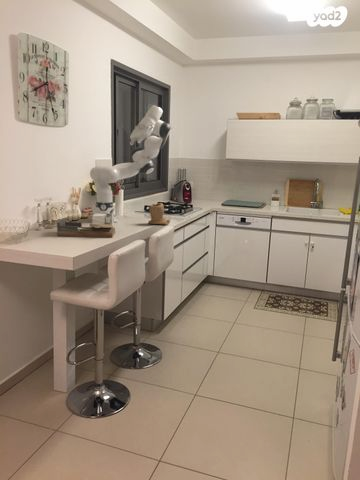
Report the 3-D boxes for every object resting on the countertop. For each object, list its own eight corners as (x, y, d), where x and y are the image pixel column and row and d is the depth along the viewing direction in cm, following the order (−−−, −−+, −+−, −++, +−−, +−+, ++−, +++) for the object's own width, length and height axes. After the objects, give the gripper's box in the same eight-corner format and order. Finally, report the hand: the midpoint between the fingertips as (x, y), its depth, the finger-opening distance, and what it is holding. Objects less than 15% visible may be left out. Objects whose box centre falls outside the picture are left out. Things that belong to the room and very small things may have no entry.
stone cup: (146, 225, 288) (146, 203, 284) (149, 222, 299) (150, 202, 296) (167, 226, 286) (168, 205, 283) (170, 223, 297) (171, 203, 294)
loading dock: (63, 231, 254) (63, 218, 253) (115, 232, 256) (115, 220, 254) (57, 236, 240) (57, 222, 238) (112, 237, 241) (112, 224, 240)
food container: (108, 227, 272) (108, 212, 270) (114, 229, 269) (114, 213, 267) (93, 229, 263) (93, 214, 261) (100, 231, 259) (100, 215, 257)
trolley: (92, 226, 252) (92, 207, 250) (114, 227, 253) (114, 208, 250) (89, 229, 242) (89, 210, 240) (112, 230, 243) (112, 210, 241)
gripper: (157, 127, 253) (146, 145, 249) (141, 132, 270) (130, 148, 266) (150, 120, 250) (139, 138, 246) (134, 125, 266) (123, 142, 263)
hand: (134, 143), depth 256 cm, fingers open, 8 cm apart
